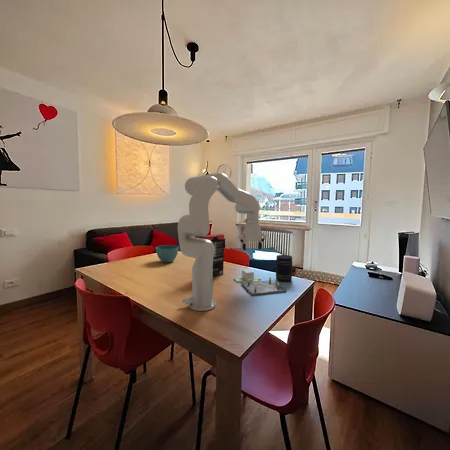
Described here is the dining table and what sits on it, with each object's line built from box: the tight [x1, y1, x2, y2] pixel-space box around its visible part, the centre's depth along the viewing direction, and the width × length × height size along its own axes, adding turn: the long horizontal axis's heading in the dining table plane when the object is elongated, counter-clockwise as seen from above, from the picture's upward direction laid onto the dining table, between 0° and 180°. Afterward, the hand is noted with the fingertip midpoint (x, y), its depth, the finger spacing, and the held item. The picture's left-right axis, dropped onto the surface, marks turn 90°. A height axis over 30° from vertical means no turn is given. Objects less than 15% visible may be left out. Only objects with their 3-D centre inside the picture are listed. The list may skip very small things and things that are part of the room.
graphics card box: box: [198, 233, 225, 277], centre depth 150 cm, size 17×7×27 cm, turn 135°
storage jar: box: [275, 254, 293, 283], centre depth 143 cm, size 10×10×15 cm
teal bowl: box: [155, 244, 180, 263], centre depth 186 cm, size 18×18×12 cm
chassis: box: [241, 276, 287, 297], centre depth 129 cm, size 20×16×4 cm
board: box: [233, 268, 262, 284], centre depth 143 cm, size 16×12×6 cm
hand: (252, 249), depth 139 cm, fingers open, 9 cm apart
